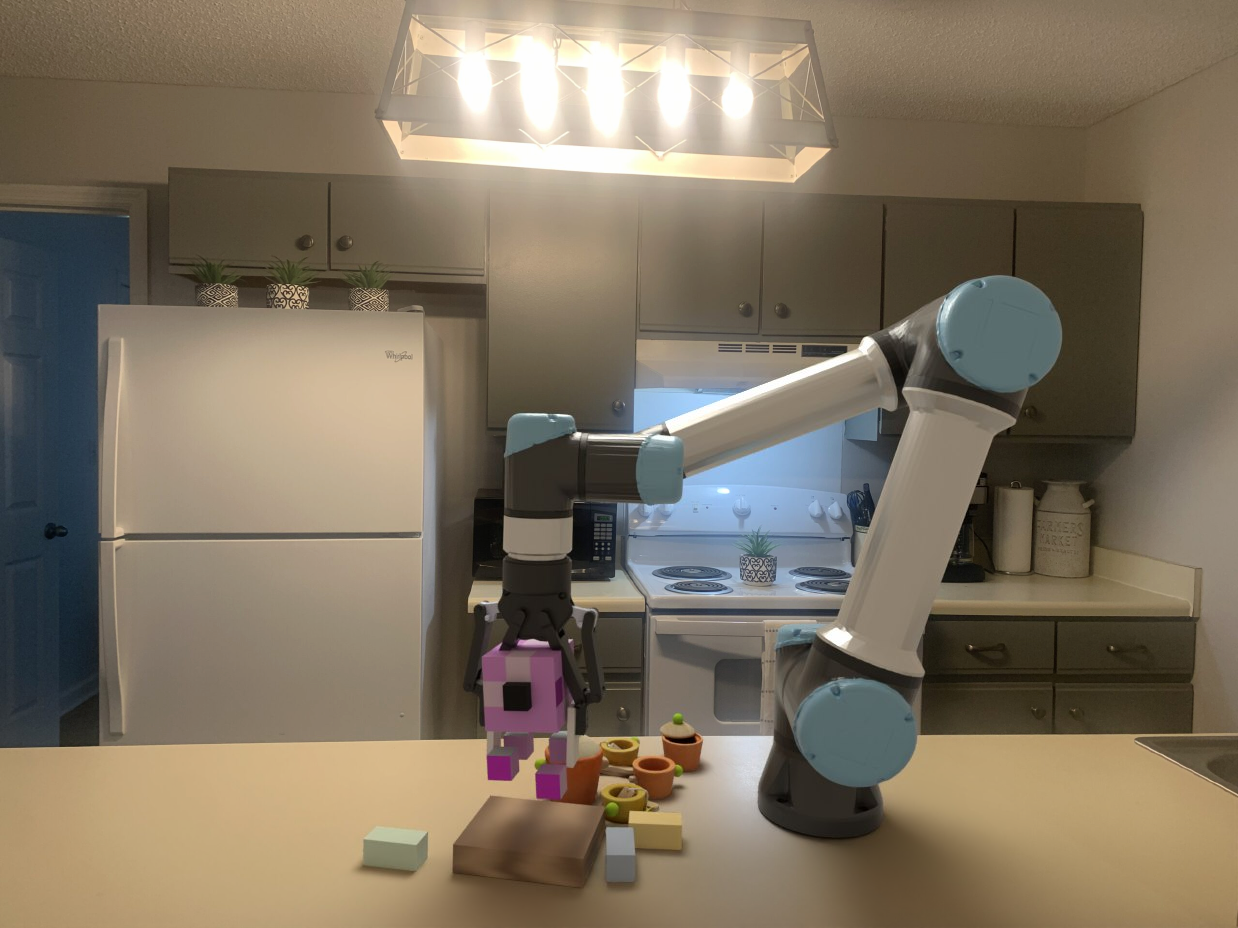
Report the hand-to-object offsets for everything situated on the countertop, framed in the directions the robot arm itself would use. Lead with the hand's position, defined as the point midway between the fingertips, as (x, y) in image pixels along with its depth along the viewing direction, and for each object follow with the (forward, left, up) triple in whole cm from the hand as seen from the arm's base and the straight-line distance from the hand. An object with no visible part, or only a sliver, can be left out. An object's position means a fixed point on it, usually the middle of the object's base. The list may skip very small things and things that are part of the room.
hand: (532, 758), depth 91 cm
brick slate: (-10, +1, -11) cm, 15 cm away
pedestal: (0, 0, -10) cm, 10 cm away
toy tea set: (-8, -19, -11) cm, 24 cm away
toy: (0, 0, -3) cm, 3 cm away
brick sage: (+14, +5, -11) cm, 18 cm away
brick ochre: (-13, -5, -11) cm, 18 cm away
